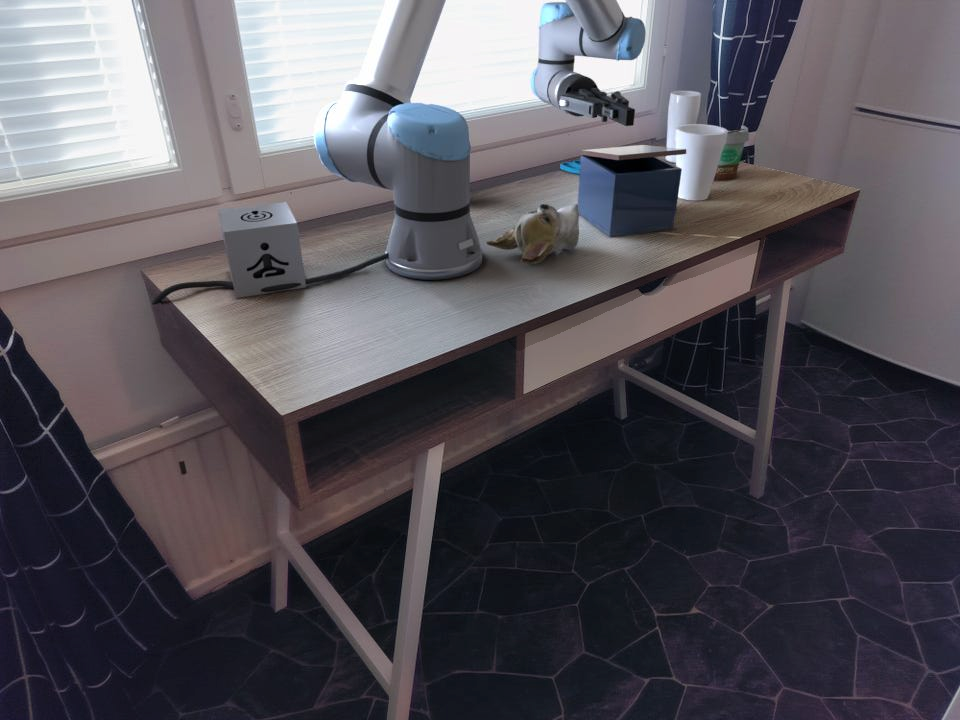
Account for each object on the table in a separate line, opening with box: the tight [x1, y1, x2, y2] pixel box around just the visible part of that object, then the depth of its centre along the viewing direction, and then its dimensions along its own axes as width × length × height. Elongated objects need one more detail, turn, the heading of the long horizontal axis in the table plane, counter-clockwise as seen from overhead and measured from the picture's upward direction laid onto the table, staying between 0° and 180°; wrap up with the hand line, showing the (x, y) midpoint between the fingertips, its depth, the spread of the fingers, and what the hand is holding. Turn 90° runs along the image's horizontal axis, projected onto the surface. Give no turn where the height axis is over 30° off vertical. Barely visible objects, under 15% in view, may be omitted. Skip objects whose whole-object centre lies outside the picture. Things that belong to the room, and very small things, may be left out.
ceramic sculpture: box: [486, 203, 580, 264], centre depth 115 cm, size 11×9×15 cm
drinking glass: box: [664, 90, 702, 164], centre depth 162 cm, size 7×7×15 cm
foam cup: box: [675, 123, 728, 202], centre depth 140 cm, size 10×9×13 cm
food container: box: [713, 124, 750, 181], centre depth 152 cm, size 12×6×10 cm, turn 111°
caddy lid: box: [580, 144, 686, 160], centre depth 124 cm, size 14×13×1 cm
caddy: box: [577, 154, 682, 238], centre depth 128 cm, size 14×13×11 cm
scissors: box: [559, 159, 581, 175], centre depth 155 cm, size 7×1×20 cm
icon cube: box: [217, 201, 307, 299], centre depth 106 cm, size 10×10×10 cm
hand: (630, 117), depth 123 cm, fingers closed
